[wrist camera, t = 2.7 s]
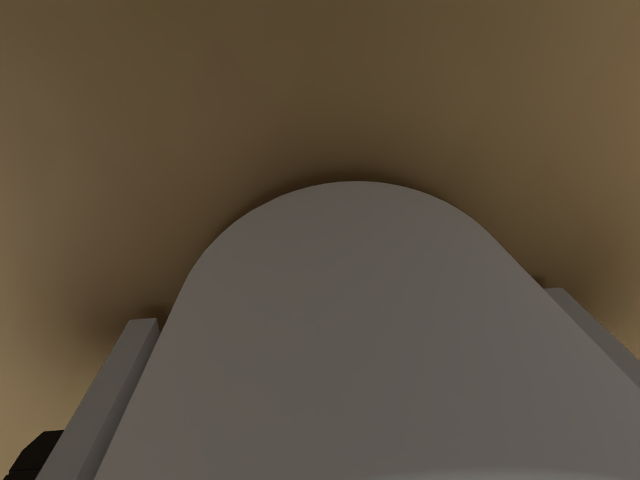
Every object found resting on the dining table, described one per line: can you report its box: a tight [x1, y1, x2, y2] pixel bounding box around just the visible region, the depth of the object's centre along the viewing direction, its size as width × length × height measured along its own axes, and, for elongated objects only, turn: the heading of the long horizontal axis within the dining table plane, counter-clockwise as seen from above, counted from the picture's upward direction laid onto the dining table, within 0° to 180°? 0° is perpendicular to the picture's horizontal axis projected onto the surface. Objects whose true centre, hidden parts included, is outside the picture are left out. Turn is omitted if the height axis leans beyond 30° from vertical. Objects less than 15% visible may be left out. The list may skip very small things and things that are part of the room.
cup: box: [94, 181, 640, 480], centre depth 10 cm, size 10×10×10 cm
